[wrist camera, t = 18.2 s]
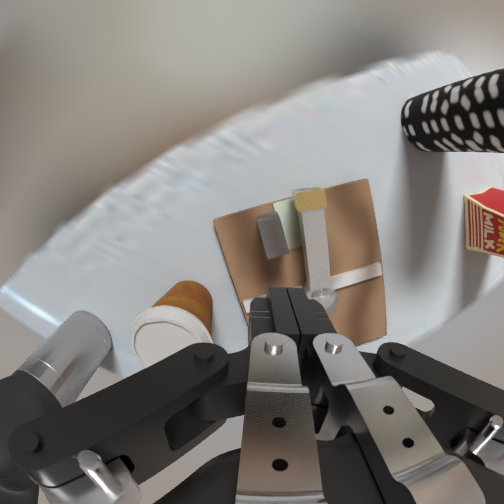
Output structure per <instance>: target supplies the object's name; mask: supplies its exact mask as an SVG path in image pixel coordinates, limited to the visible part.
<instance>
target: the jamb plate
mask: <svg viewBox="0 0 504 504" xmlns="http://www.w3.org/2000/svg"><path fill="white" fill-rule="evenodd" d="M325 196H326V204H327V208H324V214H325V223H326V232H327V242H328V253H329V265H330V278H331V286H332V288H333V289H334V291H335V293H336V294H337V296H338V306H337V308H336V310H335V311H334V312H333V313H332V314H331V315H330V316H328V317H329V319H330V320H331V322H332V324H333V326H334V328H335V330H336V332H337V334H339V335H342V336H345V337H347V338H348V339H350V340H351V341H352V343H353V344H354V345H355V346H357V345H360V344H363V343H366V342H368V341H371V340H374V339H377V338H380V337H383V336H385V335H387V324H386V304H385V290H384V279H383V269H382V260H381V252H380V244H379V237H378V230H377V224H376V218H375V212H374V207H373V201H372V196H371V191H370V186H369V182H368V179H362V180H358V181H353V182H349V183H345V184H341V185H337V186H333V187H329V188H325ZM213 222H214V225H215V228H216V231H217V234H218V237H219V241H220V244H221V247H222V250H223V253H224V256H225V259H226V262H227V265H228V268H229V271H230V274H231V277H232V280H233V282H234V285H235V288H236V291H237V294H238V297H239V300H240V303H241V306H242V309H243V311H244V314H245V317H246V320H247V323H248V325H249V311H250V303H251V301H252V300H253V299H254V298H255V297H260V298H266V293H267V287H268V286H269V287H285V288H286V287H294V288H302V286H303V284H304V283H305V282H306V272H305V263H304V255H303V247H302V239H301V231H300V224H299V216H298V211H297V210H296V209H295V208H294V201H293V197H290V198H286V199H282V200H279V201H275V202H271V203H268V204H264V205H260V206H257V207H253V208H250V209H246V210H243V211H239V212H236V213H232V214H229V215H226V216H222V217H219V218H216V219H214V220H213Z"/></svg>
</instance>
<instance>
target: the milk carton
mask: <svg viewBox="0 0 504 504" xmlns="http://www.w3.org/2000/svg"><path fill="white" fill-rule="evenodd" d="M464 206H465V228H466V249H468V250H473V251H478V252H483V253H488V254H492V255H495V256H499V257H503V258H504V190H501V189H497V188H494V187H490V186H489V187H487V188H486V189H484V190H483V191H481V192H479V193H473V194H466V195H464Z"/></svg>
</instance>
